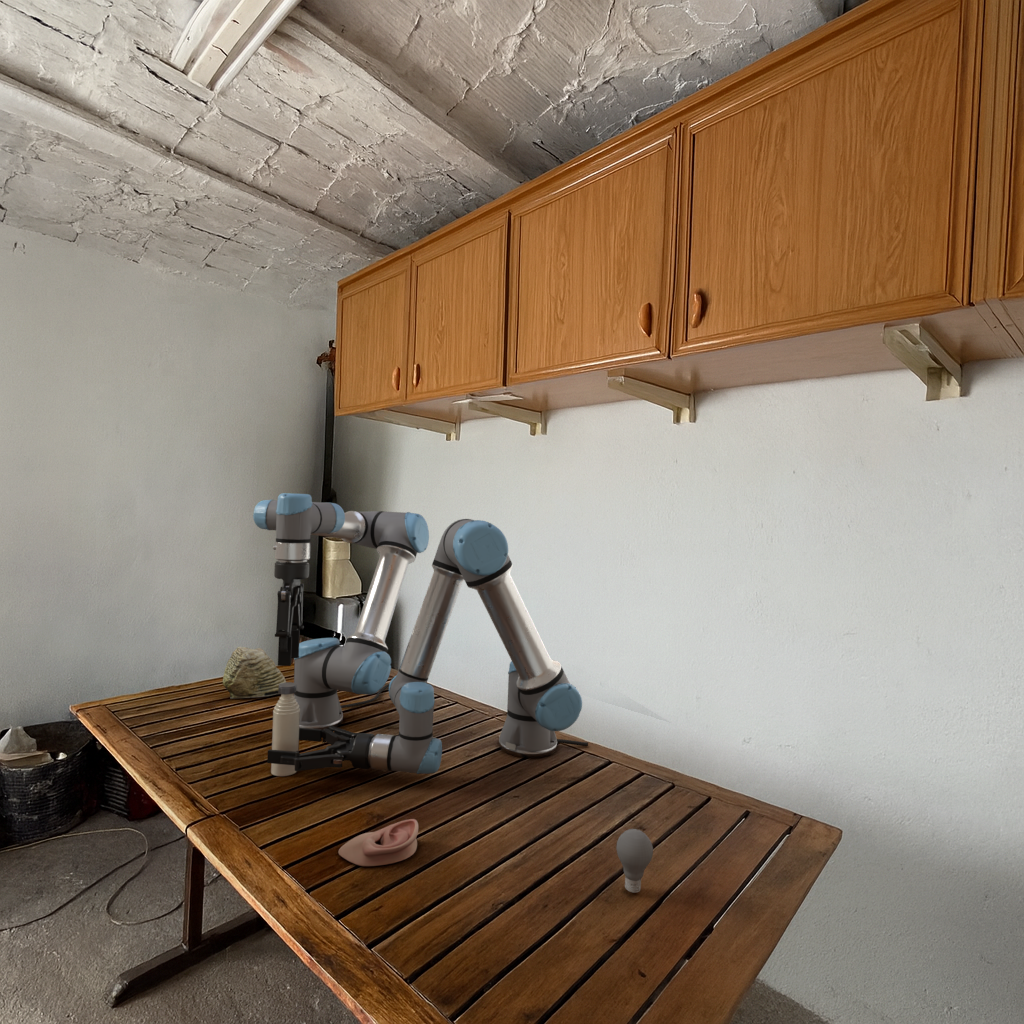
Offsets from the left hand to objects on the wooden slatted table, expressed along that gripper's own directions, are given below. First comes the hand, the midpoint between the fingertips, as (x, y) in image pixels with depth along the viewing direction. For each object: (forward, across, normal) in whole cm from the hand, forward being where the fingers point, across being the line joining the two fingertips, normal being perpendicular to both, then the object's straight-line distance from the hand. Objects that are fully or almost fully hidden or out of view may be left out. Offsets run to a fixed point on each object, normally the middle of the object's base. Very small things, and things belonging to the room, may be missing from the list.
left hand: (288, 661), depth 145 cm
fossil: (+25, -55, -24) cm, 65 cm away
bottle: (+25, 0, 0) cm, 25 cm away
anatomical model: (+25, +33, +26) cm, 49 cm away
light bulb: (+25, +46, +69) cm, 87 cm away
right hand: (+19, 0, -1) cm, 19 cm away
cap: (+6, 0, 0) cm, 6 cm away
